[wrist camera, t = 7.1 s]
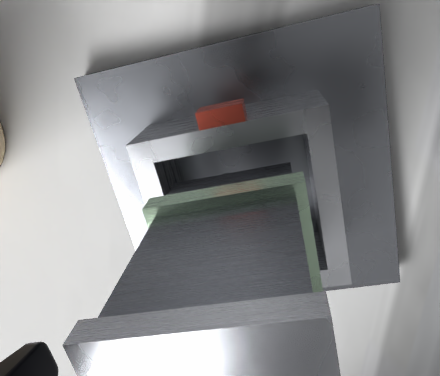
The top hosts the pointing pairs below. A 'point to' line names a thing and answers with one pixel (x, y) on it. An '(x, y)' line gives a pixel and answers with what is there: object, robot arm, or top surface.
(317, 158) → the stand base
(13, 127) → the top surface
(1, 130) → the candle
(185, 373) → the column
